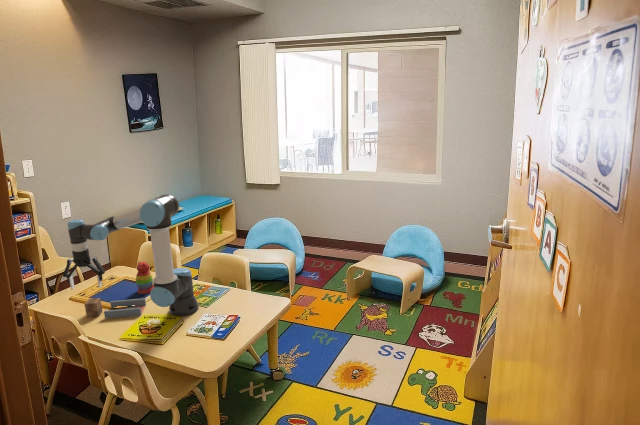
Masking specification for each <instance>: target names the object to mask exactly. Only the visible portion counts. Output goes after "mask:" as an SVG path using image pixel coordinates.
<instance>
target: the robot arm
mask: <svg viewBox="0 0 640 425" xmlns="http://www.w3.org/2000/svg"><path fill="white" fill-rule="evenodd" d="M179 209H180V203H179V200H178V199H177V197H175V196H174V195H172V194H162V195H160V196H156V198H152V199H149V200H147V201H146V202H145V203H143V204H142V205H141V206H139V207H137V208H133V209H131V210H128V211H125V212H122V213H119V214H117V215H113V216H110V217H107V218H105V219H103V220H101V221H98V222H96V223H94V224H87V223H85V220H84V219H81V218H80V219H71V220H69V221H68V222H67V230H68V235H69V241H70V247H71V248H70V249H71V253H72V257H73V258H67V260H66V266H65V269H64V270H63V274H62V277H63V278H66V279H67V283H68V284H69V285H70V290H72V291H73V290H74V289H75V282H74V276H73V273H74V272H75V271H76V269H77V267H78V268H83V267H84V268H86V267H87V268H89V269H90V270H91V271H92V272H94V273H95V274H96V278H97V285H98V288H101V287H102V285H103V284H102V281H103V280H104V278H103V275H104V274H105V273H106V269H104V267H103V266H102V265H101V263H100V262H99V261H98V259H97V256H94V257H90V251H89V245H88V240H90V241H105V240H106V239H107V238H108V235H109V234H112V233H114V232H117V231H119V230H122V229H126V228H128V227H131V226H133V225H134V226H135V225H137V224H140V223H143V225H145V227H146V230H148V231H149V233H150V240H151V241H150V242H151V249H152V256H153V257H152V258H153V265H154V271H155V272H154V273H155V277H154V278H153V286H154V288H153V289H152V290H151V292H150V293H149V297H150V299H151V301H152V302H153V304H155V306H157V307H161V308H167V307H168V309H169V310H168V311H169V314H170V315H172V316H176V317H184V316H189V315H192V314H194V313H196V312H197V311H198V310H199V309H200V308H199V302H198V300H197V298H196V296H195V294H194V283H193V275H192V271H191V269H189V268H187V267H177V268H174V264H173V263H174V262H173V256H172V254H173V253H172V246H171V237H170V228H171V227H172V225H173V224H172V217H174V216H176V215H177V214H178V212H179ZM72 263H74V265H73V267H72V268H71V264H72ZM70 268H71V269H70ZM69 270H70V271H69Z"/></svg>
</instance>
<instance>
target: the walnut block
mask: <svg viewBox="0 0 640 425" xmlns="http://www.w3.org/2000/svg"><path fill="white" fill-rule="evenodd" d="M102 306H103V305H102V301H101V298H100V297H97V298H96V297H95V298H88V299H87V300H86V302H85V303H84V308H85V309H84V310H85V314H86V318H87V319H90V318H99V317H100V316H101V315H102V313H104V310H103V307H102Z"/></svg>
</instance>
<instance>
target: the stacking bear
mask: <svg viewBox="0 0 640 425" xmlns="http://www.w3.org/2000/svg"><path fill="white" fill-rule="evenodd" d="M150 268H151V265H150V264H148V262H144V261H143V262H141V261H139V262H138V263H137V266H136V270H137V273H136V274H135V275H136V276H135V285H136V287H137V293H138V294H142V295H143V294H150V292H151V290H152V289H153V288H154V284H153V279H154V278H153V275H152V272H151V271H150Z"/></svg>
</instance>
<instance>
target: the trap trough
mask: <svg viewBox="0 0 640 425" xmlns="http://www.w3.org/2000/svg"><path fill="white" fill-rule="evenodd" d="M131 305H135V307H128V308H117V309H113V308H114V307H117V306H131ZM146 305H147V303H146V297H145V298H133V299H122V300H121V299H120V300H111V301H110V309H107V310H103V314H104V319H105V320H106V319H107V320H108V319H116V318H118V319H119V318H129V317H139V316H142V314H143V312H144V310H145V308H146Z"/></svg>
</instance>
